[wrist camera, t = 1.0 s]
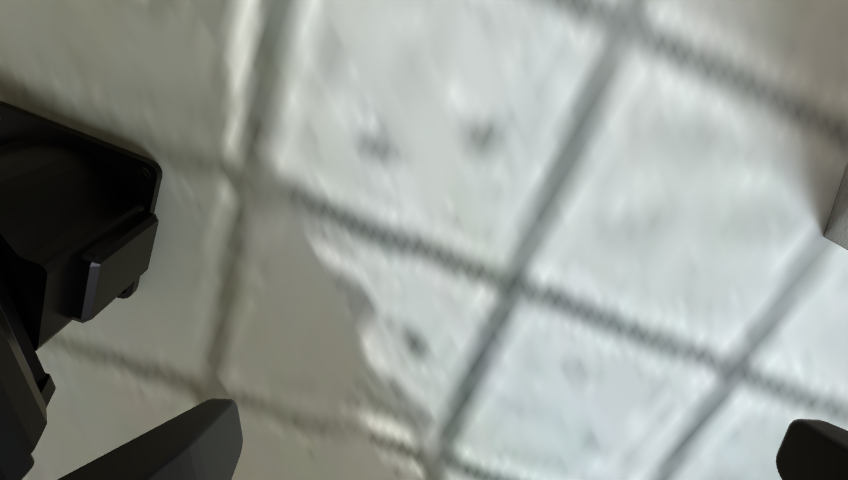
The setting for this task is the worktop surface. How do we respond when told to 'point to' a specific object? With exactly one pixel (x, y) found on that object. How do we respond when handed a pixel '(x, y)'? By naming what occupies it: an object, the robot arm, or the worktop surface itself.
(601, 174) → the worktop surface
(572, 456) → the worktop surface
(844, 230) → the tall metal block
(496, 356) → the worktop surface
